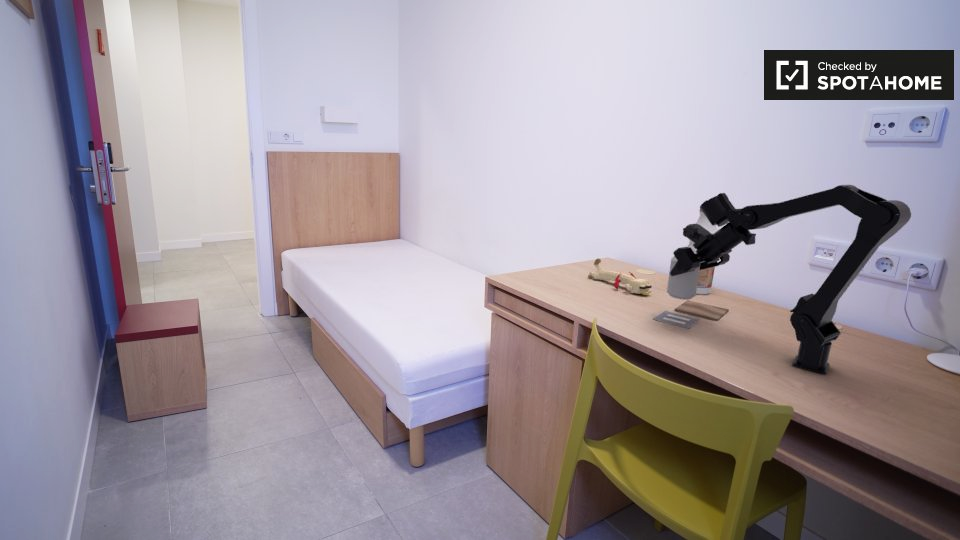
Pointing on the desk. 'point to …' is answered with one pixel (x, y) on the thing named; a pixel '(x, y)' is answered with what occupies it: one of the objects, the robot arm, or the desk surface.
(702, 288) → the fruit juice
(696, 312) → the board
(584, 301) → the desk surface
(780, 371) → the desk surface
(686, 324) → the tile
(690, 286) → the can
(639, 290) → the cream voxel animal
